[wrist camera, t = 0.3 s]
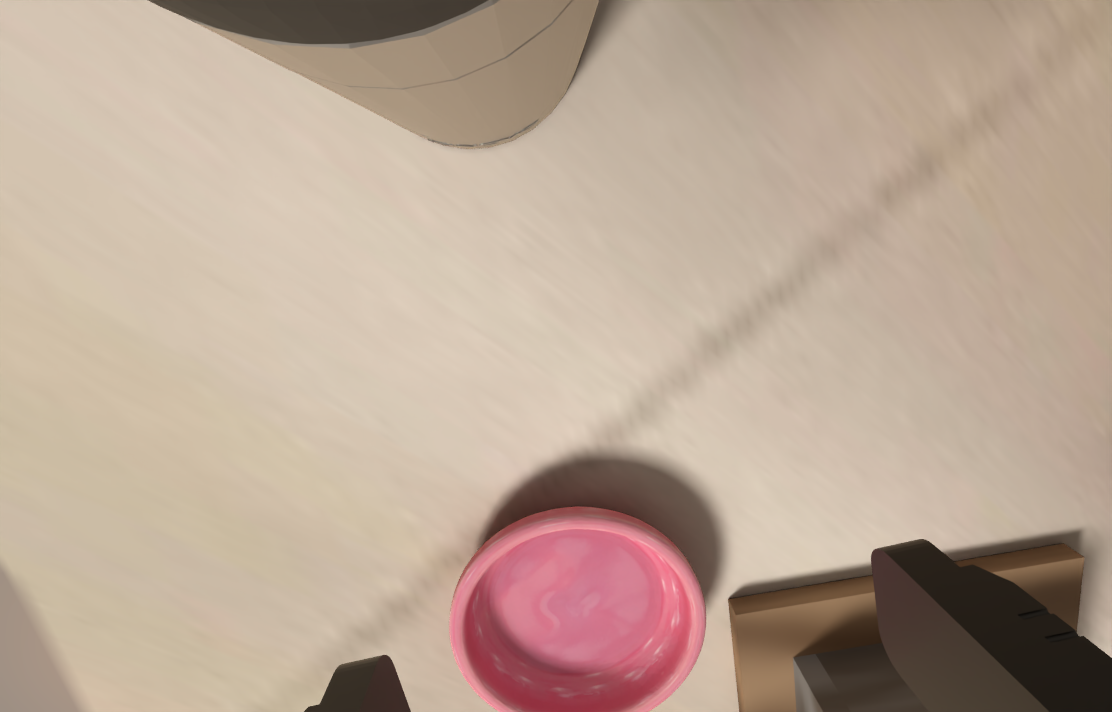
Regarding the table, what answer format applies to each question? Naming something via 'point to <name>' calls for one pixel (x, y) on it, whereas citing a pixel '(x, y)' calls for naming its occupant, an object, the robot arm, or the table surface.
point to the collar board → (860, 637)
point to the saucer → (577, 615)
